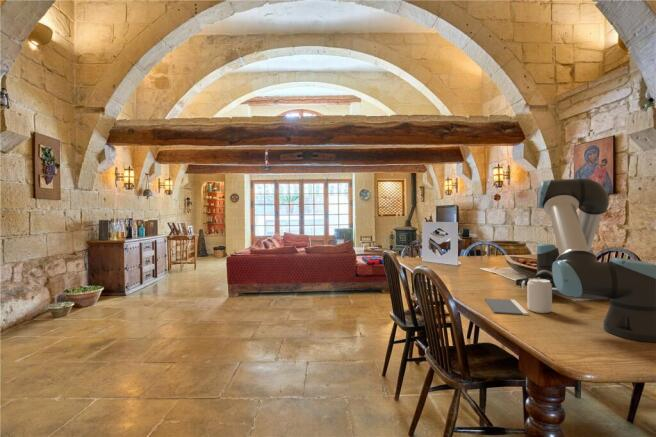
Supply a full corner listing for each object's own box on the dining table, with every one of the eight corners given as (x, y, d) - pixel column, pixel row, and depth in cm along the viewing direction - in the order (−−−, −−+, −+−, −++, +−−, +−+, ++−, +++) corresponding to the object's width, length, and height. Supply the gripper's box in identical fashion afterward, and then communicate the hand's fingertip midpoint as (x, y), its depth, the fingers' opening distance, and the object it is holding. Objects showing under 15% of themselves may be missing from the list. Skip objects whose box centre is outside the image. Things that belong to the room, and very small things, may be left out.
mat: (528, 315, 125) (528, 313, 125) (493, 313, 128) (493, 311, 128) (514, 301, 144) (514, 299, 144) (484, 299, 147) (484, 298, 147)
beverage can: (531, 313, 127) (531, 282, 126) (524, 307, 135) (524, 278, 134) (555, 314, 125) (555, 282, 125) (547, 308, 133) (546, 278, 132)
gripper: (578, 290, 147) (579, 301, 130) (514, 284, 162) (507, 293, 145) (578, 273, 147) (579, 282, 130) (514, 269, 162) (507, 276, 145)
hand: (541, 288), depth 137 cm, fingers open, 13 cm apart
